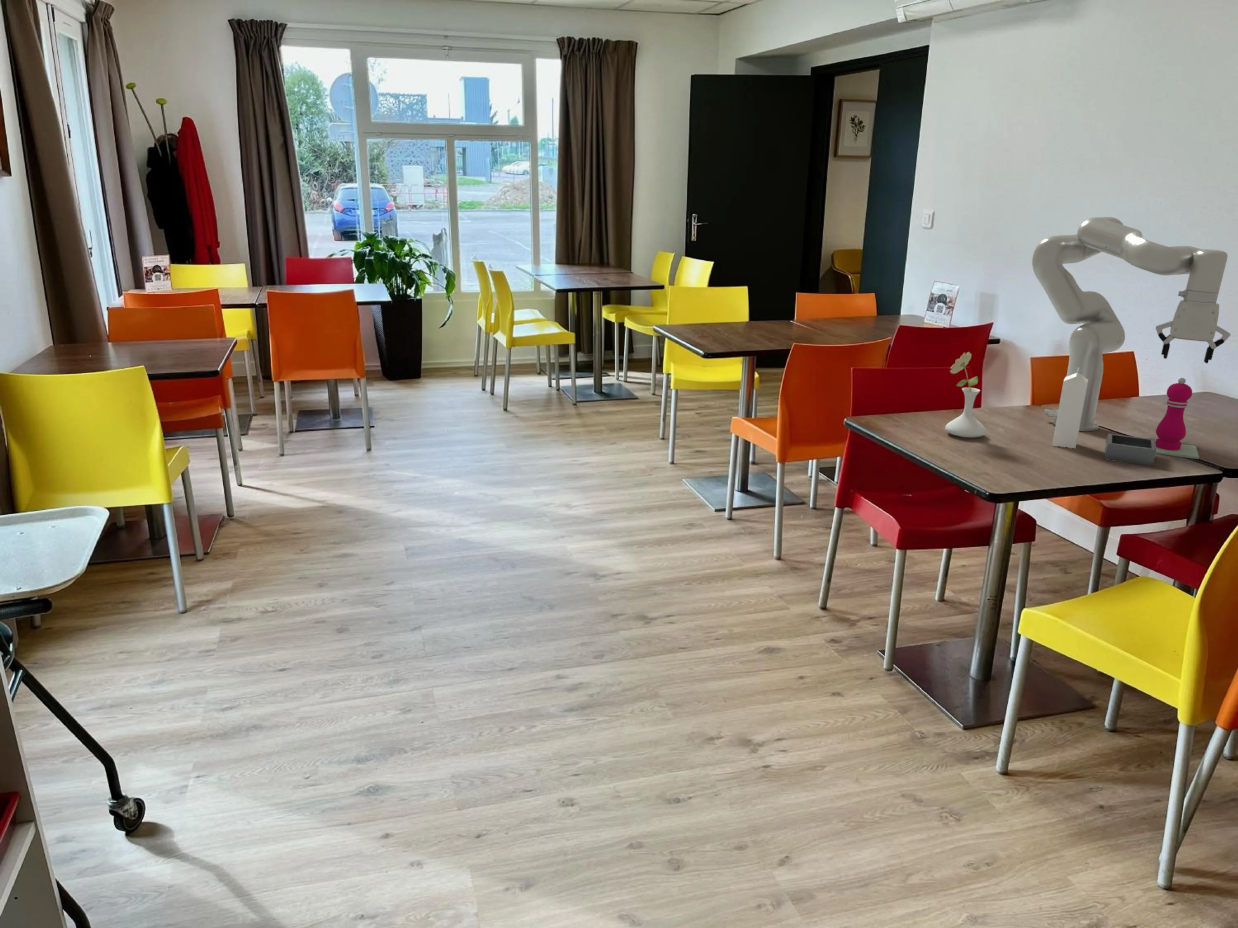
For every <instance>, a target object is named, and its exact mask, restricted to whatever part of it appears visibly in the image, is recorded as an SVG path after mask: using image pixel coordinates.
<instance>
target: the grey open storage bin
mask: <svg viewBox="0 0 1238 928" xmlns="http://www.w3.org/2000/svg"><path fill="white" fill-rule="evenodd" d="M1106 436H1107V437H1106V442H1105V447H1104V460H1105V459H1109V460H1108V461H1112V460H1115V461H1114V462H1119V461H1122V462H1121V463H1127V462H1128V463H1129V464H1134V465H1135V464H1136V465H1143V466H1149V467H1150V466H1151V467H1154V463H1155V459H1156V444H1155V441H1156V439H1154V438H1147V437H1139V436H1132V435H1130V436H1129V435H1124V434H1117V433H1116V434H1115V433H1107V435H1106ZM1128 463H1127V464H1128Z"/></svg>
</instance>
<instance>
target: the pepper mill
mask: <svg viewBox="0 0 1238 928" xmlns="http://www.w3.org/2000/svg"><path fill="white" fill-rule="evenodd" d="M1166 395H1167V397H1168V399H1167V400H1166V401H1167V402H1166V403H1165V404H1166V405H1167V409H1166V413H1165V414H1164V417H1163V418H1162V419H1161V420H1160V422H1159V423H1158V425H1157V426H1156V429H1155V434H1156V436H1157V437H1158V438H1156V439H1155V441H1156V442H1155V444H1156V447H1158V448H1161V449H1165V450H1180V449H1181V444H1182V442H1181V441H1182V440H1184V439H1185V437H1186V436H1187V435H1186V434H1187V428H1186V425H1185V421H1184V413H1185V409H1186V408H1187V407H1188V404H1189V402H1188V401H1189V400H1190V399H1191V398H1192V396H1193V389H1192V388H1191V386H1190V385H1188V384H1186V378H1184V377H1180V378H1178V380H1177V382H1175V383H1173V384H1171V385H1169V386H1168V388H1167V390H1166Z"/></svg>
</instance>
